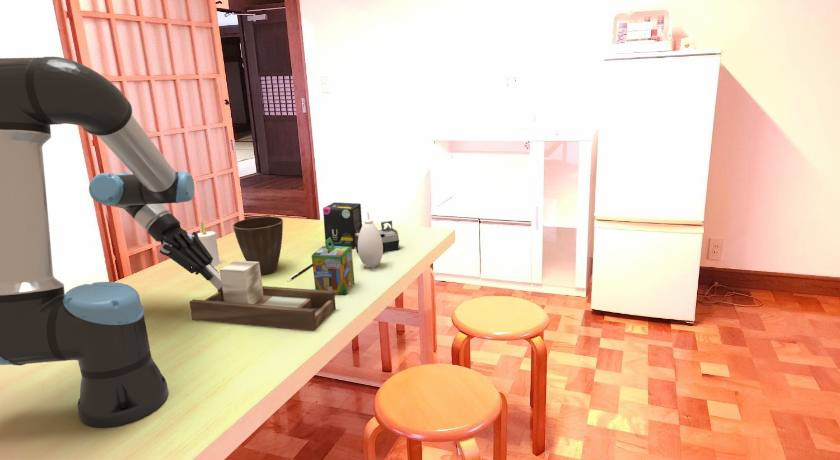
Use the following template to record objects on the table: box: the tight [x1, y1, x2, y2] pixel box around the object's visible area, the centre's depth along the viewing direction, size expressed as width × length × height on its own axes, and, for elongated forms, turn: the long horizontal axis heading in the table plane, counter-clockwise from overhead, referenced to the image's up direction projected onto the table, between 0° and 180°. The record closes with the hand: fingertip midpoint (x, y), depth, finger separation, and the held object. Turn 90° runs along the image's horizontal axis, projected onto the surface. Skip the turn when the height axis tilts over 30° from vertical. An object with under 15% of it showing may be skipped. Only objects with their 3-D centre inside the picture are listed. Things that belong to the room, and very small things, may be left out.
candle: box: [197, 221, 221, 268], centre depth 181 cm, size 6×6×15 cm
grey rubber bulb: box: [357, 212, 384, 269], centre depth 172 cm, size 8×8×18 cm
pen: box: [287, 263, 313, 283], centre depth 173 cm, size 1×19×1 cm, turn 161°
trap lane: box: [189, 285, 337, 332], centre depth 142 cm, size 13×34×5 cm, turn 75°
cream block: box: [219, 260, 264, 304], centre depth 142 cm, size 7×7×10 cm
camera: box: [355, 220, 400, 254], centre depth 188 cm, size 15×8×10 cm, turn 110°
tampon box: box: [322, 202, 363, 250], centre depth 197 cm, size 11×9×15 cm
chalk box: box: [311, 237, 356, 295], centre depth 156 cm, size 9×9×15 cm
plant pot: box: [232, 216, 284, 276], centre depth 173 cm, size 15×15×16 cm
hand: (222, 285), depth 144 cm, fingers closed
